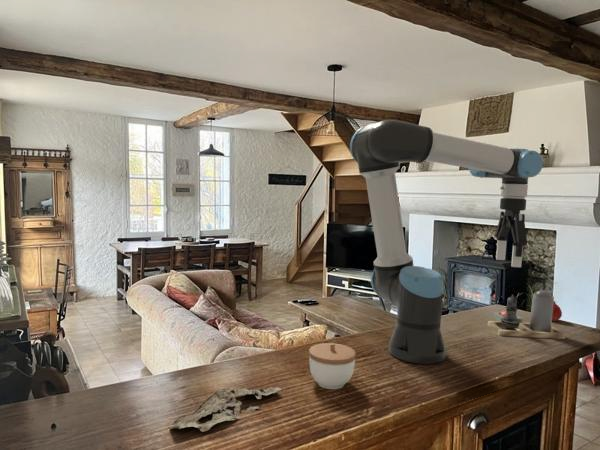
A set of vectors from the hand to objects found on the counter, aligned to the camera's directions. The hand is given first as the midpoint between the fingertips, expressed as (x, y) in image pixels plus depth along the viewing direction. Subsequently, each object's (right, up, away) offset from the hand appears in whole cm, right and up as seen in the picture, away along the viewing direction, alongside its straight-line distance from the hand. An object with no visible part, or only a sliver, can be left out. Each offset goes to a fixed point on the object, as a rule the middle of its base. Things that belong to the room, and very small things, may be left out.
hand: (507, 263), depth 147 cm
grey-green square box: (+4, -22, +10) cm, 25 cm away
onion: (+22, -22, +14) cm, 34 cm away
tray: (+5, -23, -1) cm, 23 cm away
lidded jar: (-60, -24, -42) cm, 78 cm away
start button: (+5, -21, +10) cm, 24 cm away
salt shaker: (0, -22, -1) cm, 22 cm away
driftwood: (-81, -25, -56) cm, 102 cm away
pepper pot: (+10, -22, -1) cm, 24 cm away
